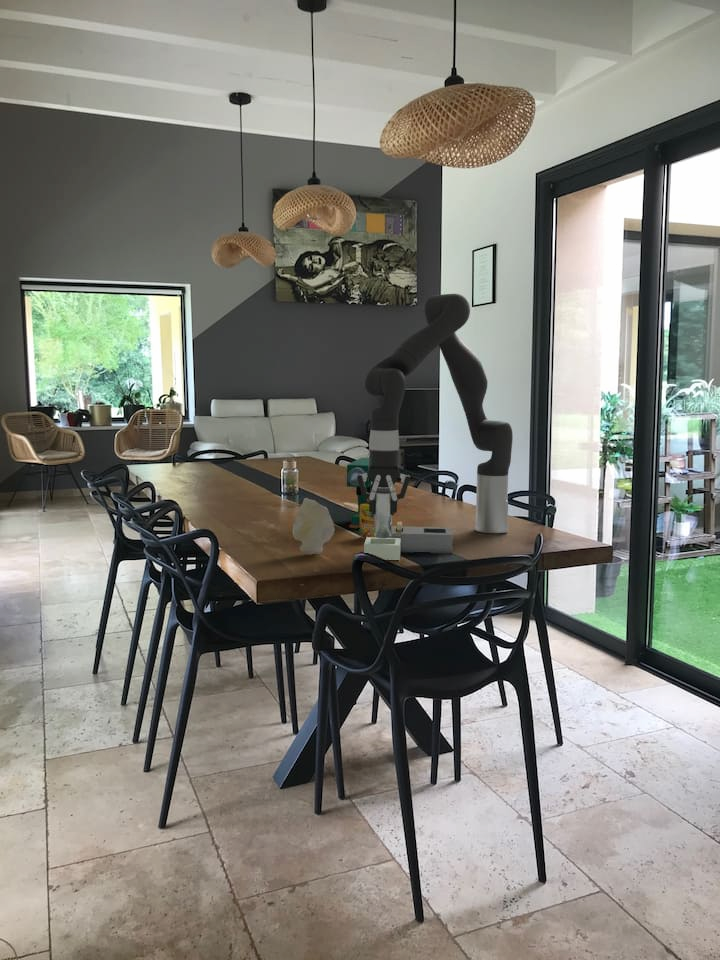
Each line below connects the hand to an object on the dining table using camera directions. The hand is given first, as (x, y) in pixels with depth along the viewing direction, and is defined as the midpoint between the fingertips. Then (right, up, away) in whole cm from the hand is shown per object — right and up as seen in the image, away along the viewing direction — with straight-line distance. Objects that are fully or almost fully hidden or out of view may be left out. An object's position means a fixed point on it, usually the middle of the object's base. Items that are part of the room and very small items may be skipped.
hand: (383, 514), depth 201 cm
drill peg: (0, -6, +1) cm, 6 cm away
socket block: (+10, -10, +11) cm, 18 cm away
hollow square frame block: (0, -11, +1) cm, 11 cm away
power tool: (-5, -6, +39) cm, 40 cm away
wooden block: (+5, -9, +11) cm, 15 cm away
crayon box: (-2, -8, +23) cm, 25 cm away
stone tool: (-18, -11, +3) cm, 21 cm away
